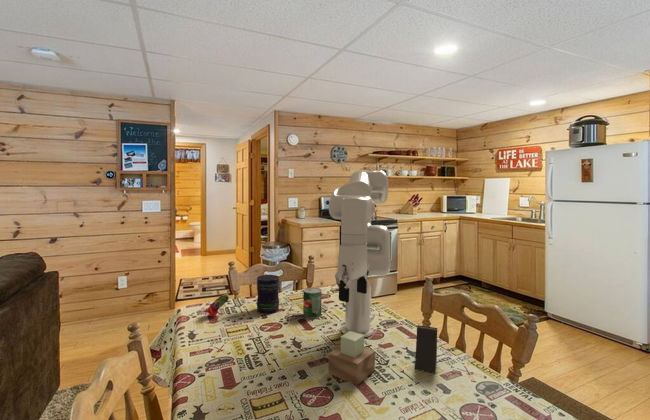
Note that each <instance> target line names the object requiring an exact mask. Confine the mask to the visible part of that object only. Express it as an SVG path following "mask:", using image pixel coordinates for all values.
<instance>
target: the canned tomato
mask: <svg viewBox="0 0 650 420" xmlns="http://www.w3.org/2000/svg"><path fill="white" fill-rule="evenodd" d="M302 297H303V300H302V304H303V305H302V306H303V311H302V312H303V315H302V316H303V317H305V318H306V319H319V318H321V317H322V306H323V305H322V300H323V299H322V297H323V295H322V289H321V288H319V287H314V286H313V287H307V288H304V289H303V296H302Z"/></svg>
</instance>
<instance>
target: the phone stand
mask: <svg viewBox="0 0 650 420" xmlns="http://www.w3.org/2000/svg"><path fill="white" fill-rule="evenodd" d="M414 356H415V359H414V370H416V369H418V370H417V371H421V370H424V371H423V372H426V371H429V372H428V373H432V372H435V373H436V369H437V362H436V361H438V357H437V356H438V327H433V326H428V325H427V326H425V325H420V324H419V325H418V324H417V326H416V342H415V355H414Z"/></svg>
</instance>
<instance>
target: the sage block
mask: <svg viewBox="0 0 650 420" xmlns="http://www.w3.org/2000/svg"><path fill="white" fill-rule="evenodd" d="M340 346H341V353H342V354H345V355H348V356H351V357H353V358H356V357H357V356H358V355H360V354H361V353H363V352H364V347H365V337H364V335H362V334H359V333H355V332H352V331H349V332H347V333H346V334H344V333H343V335H341V336H340Z"/></svg>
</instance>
